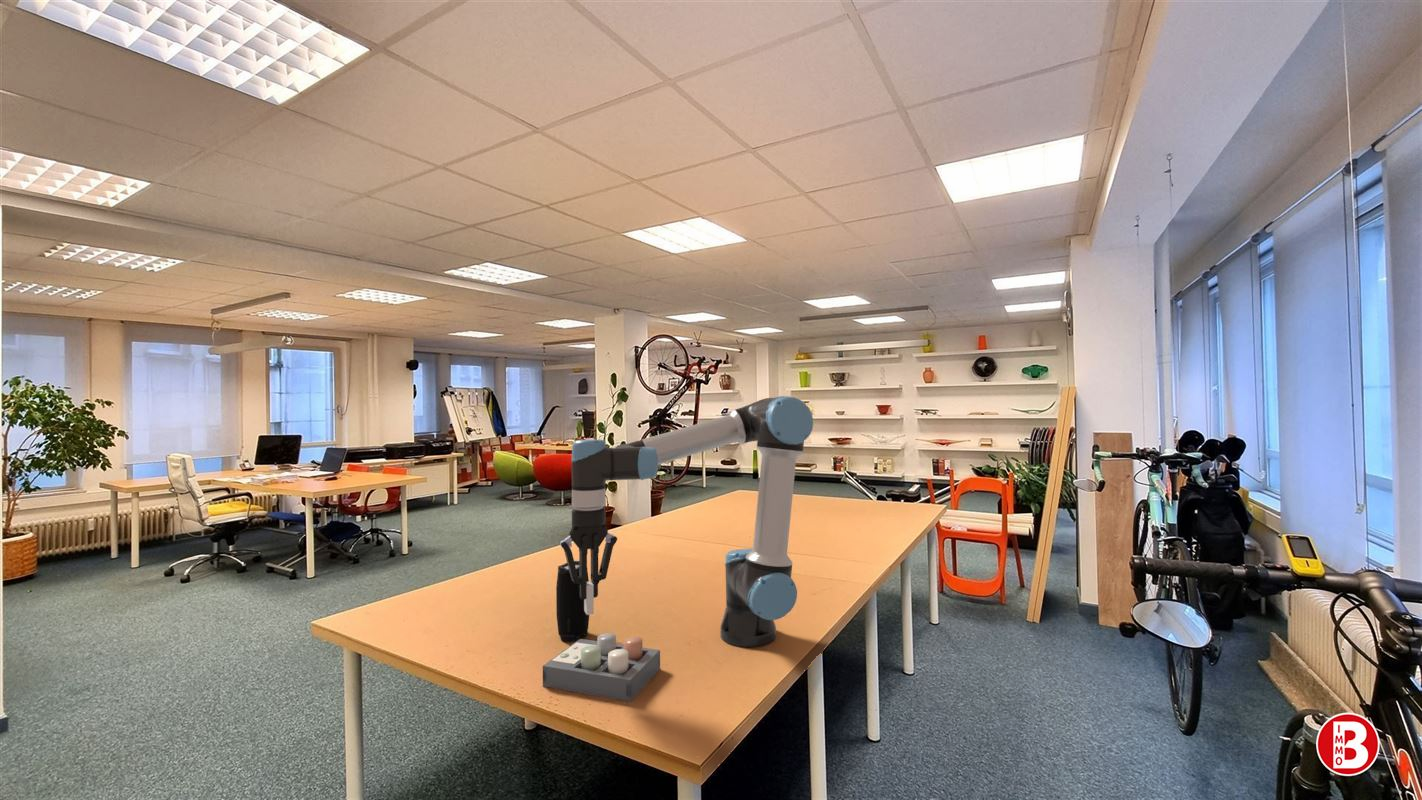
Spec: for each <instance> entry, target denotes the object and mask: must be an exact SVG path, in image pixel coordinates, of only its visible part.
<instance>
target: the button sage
mask: <svg viewBox="0 0 1422 800" xmlns="http://www.w3.org/2000/svg"><path fill="white" fill-rule="evenodd" d="M600 666H601V648H600V647H599V646H596V645H590V646H586V647H584V648H582V649H581V669H585V670H592V671H596V670H597V669H598V668H599V667H600Z"/></svg>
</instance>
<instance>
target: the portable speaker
mask: <svg viewBox="0 0 1422 800" xmlns="http://www.w3.org/2000/svg"><path fill="white" fill-rule="evenodd" d="M574 563H575V567H576V571H577V575H578V577H579V560H574ZM587 582H590V580H589V572H588V570H587ZM555 588H556V589H555V590H556V595H555V596H556V597H555V598H556V599H555V603H556V613H555V614H556V621H557V622H556V623H557V624H556V625H557V633H558V636H559V637H560V638H561V641H563V642H564V643H565V642H568V643H569V642H571V643H572V642H576V641H578V640H579V639H580V637H583V636H585V637H587V636H588V633H589V631H588V630H589V622H590V615H587V614H586V613H585V611H584V599H581V597H580V584H575V583H574V582H573V581H572V579H571V575H570V572H569V568H568V564H567V562H566V563H563V564H561V565H558V566H557V578H556V587H555Z"/></svg>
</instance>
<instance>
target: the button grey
mask: <svg viewBox="0 0 1422 800" xmlns="http://www.w3.org/2000/svg"><path fill="white" fill-rule="evenodd" d="M596 639H597V640H596V641H597V646H599V647H600V648H601V656H607V657H608V653H609V652H610V651H613V650H616V644H617V635H616V634H615V633H610V632H609V633H607V632H606V633H603V634H599V635H598V636H597V637H596Z"/></svg>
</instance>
